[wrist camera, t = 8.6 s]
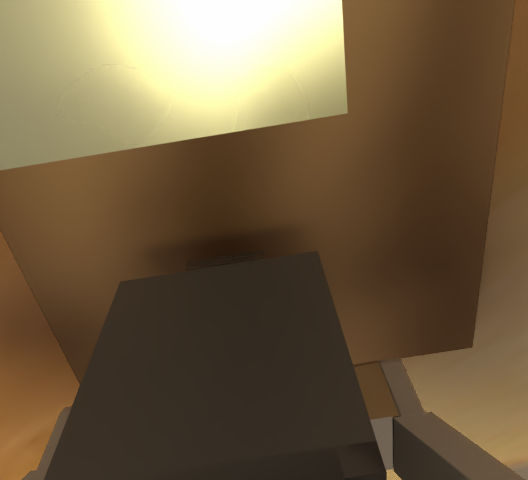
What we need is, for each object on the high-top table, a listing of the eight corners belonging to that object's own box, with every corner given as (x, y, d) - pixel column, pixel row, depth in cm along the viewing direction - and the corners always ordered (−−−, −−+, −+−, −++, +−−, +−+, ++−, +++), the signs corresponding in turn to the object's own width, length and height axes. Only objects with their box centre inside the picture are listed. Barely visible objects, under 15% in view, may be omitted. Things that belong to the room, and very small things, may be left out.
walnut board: (537, -426, 8) (573, -474, 7) (460, 329, 18) (472, 347, 17) (-228, -281, 9) (-278, -310, 8) (97, 385, 18) (90, 404, 17)
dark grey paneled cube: (317, 250, 11) (386, 472, 6) (331, 388, 14) (388, 625, 9) (120, 281, 12) (26, 523, 6) (170, 412, 14) (133, 659, 9)
